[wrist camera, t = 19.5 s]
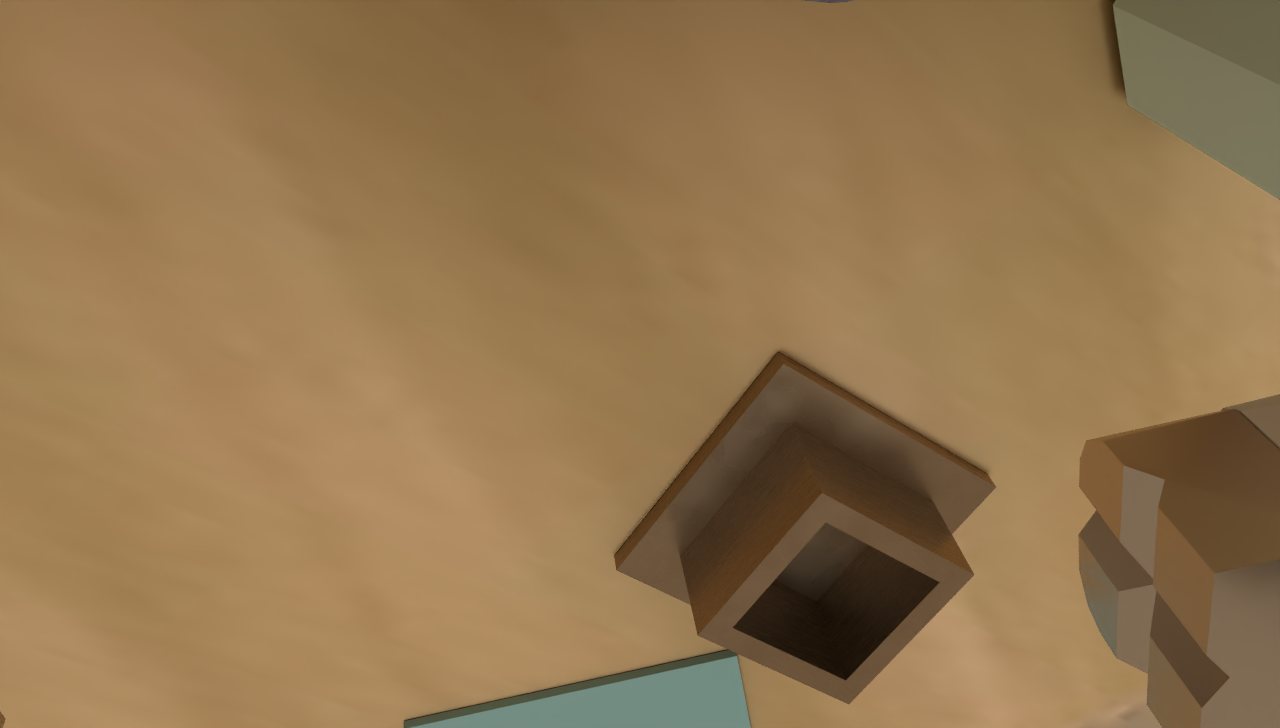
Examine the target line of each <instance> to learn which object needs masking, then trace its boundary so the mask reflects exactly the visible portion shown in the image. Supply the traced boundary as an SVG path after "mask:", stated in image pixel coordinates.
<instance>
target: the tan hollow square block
mask: <svg viewBox="0 0 1280 728" xmlns="http://www.w3.org/2000/svg"><path fill="white" fill-rule="evenodd" d="M995 488H996V486H995V485H994V483H993V482H992V480H991V479H990V477H989V476H988V474H986V473H985V472H983V471H981V470H980V469H978V468H976V467H974V466H973V465H971V464H969V463H968V462H966V461H964V460H962V459H961V458H959V457H957V456H956V455H954V454H952V453H950V452H949V451H947V450H945V449H944V448H942V447H940V446H938V445H937V444H935V443H933V442H932V441H930V440H928V439H926V438H925V437H923V436H921V435H920V434H918V433H916V432H914V431H913V430H911V429H909V428H908V427H906V426H904V425H903V424H901V423H899V422H897V421H896V420H894V419H892V418H891V417H889V416H887V415H885V414H884V413H882V412H880V411H879V410H877V409H875V408H873V407H872V406H870V405H868V404H867V403H865V402H863V401H861V400H860V399H858V398H856V397H855V396H853V395H851V394H849V393H848V392H846V391H844V390H843V389H841V388H839V387H837V386H836V385H834V384H832V383H831V382H829V381H827V380H825V379H824V378H822V377H820V376H819V375H817V374H815V373H813V372H812V371H810V370H808V369H807V368H805V367H803V366H801V365H800V364H798V363H796V362H795V361H793V360H791V359H789V358H788V357H786V356H784V355H783V354H781V353H779V352H778V353H777V354H776V355H775V357H774V358H773V359H772V360H771V362H770V363H769V364H768V365H767V367H766V368H765V369H764V370H763V371H762V373H761V374H760V375H759V376H758V378H757V379H756V380H755V381H754V383H753V384H752V385H751V386H750V388H749V389H748V390H747V391H746V393H745V394H744V395H743V396H742V398H741V399H740V400H739V401H738V403H737V404H736V405H735V406H734V408H733V409H732V410H731V411H730V413H729V414H728V415H727V416H726V417H725V419H724V420H723V421H722V422H721V424H720V425H719V426H718V427H717V429H716V430H715V431H714V432H713V434H712V435H711V436H710V437H709V439H708V440H707V441H706V442H705V444H704V445H703V446H702V447H701V449H700V450H699V451H698V452H697V454H696V455H695V456H694V457H693V459H692V460H691V461H690V462H689V463H688V465H687V466H686V467H685V468H684V470H683V471H682V472H681V473H680V475H679V476H678V477H677V478H676V480H675V481H674V482H673V483H672V485H671V486H670V487H669V488H668V490H667V491H666V492H665V493H664V495H663V496H662V497H661V498H660V500H659V501H658V502H657V503H656V505H655V506H654V507H653V508H652V509H651V511H650V512H649V513H648V514H647V516H646V517H645V518H644V519H643V521H642V522H641V523H640V524H639V526H638V527H637V528H636V529H635V531H634V532H633V533H632V534H631V536H630V537H629V538H628V539H627V541H626V542H625V543H624V544H623V546H622V547H621V548H620V549H619V551H618V552H617V553H616V554H615V555H614V557H615V564H616V570H617V571H619V572H621V573H624V574H626V575H628V576H630V577H632V578H634V579H636V580H639V581H641V582H643V583H645V584H647V585H649V586H651V587H654V588H656V589H658V590H660V591H662V592H664V593H666V594H669V595H671V596H673V597H675V598H677V599H679V600H681V601H684V602H686V603H688V604H690V605H691V608H692V612H693V616H694V621H695V625H696V630H697V634H698V636H700V637H702V638H705V639H707V640H709V641H711V642H713V643H716V644H718V645H720V646H722V647H724V648H727V649H729V650H731V651H733V652H735V653H737V654H740V655H742V656H744V657H746V658H748V659H751V660H753V661H755V662H757V663H759V664H762V665H764V666H766V667H768V668H770V669H773V670H775V671H777V672H779V673H781V674H784V675H786V676H788V677H790V678H792V679H795V680H797V681H799V682H801V683H803V684H805V685H808V686H810V687H812V688H814V689H816V690H819V691H821V692H823V693H825V694H827V695H830V696H832V697H834V698H836V699H838V700H841V701H843V702H845V703H847V704H850V703H851V702H852V701H853V700H854V699H855V698H856V697H857V696H858V694H859V693H860V692H861V691H862V690H863V689H864V688H865V687H866V686H867V685H868V684H869V683H870V682H871V681H872V680H873V679H874V678H875V677H876V676H877V675H878V674H879V673H880V672H881V671H882V670H883V669H884V668H885V667H886V666H887V665H888V663H889V662H890V661H891V660H892V659H893V658H894V657H895V656H896V655H897V654H898V653H899V652H900V651H901V650H902V649H903V648H904V647H905V646H906V645H907V644H908V643H909V642H910V641H911V640H912V639H913V638H914V637H915V636H916V635H917V634H918V632H919V631H920V630H921V629H922V628H923V627H924V626H925V625H926V624H927V623H928V622H929V621H930V620H931V619H932V618H933V617H934V616H935V615H936V614H937V613H938V612H939V611H940V610H941V609H942V608H943V607H944V606H945V605H946V604H947V603H948V601H949V600H950V599H951V598H952V597H953V596H954V595H955V594H956V593H957V592H958V591H959V590H960V589H961V588H962V587H963V586H964V585H965V584H966V583H967V582H968V581H969V580H970V579H971V578H972V577H973V576H974V573H973V571H972V570H971V568H970V566H969V564H968V563H967V561H966V559H965V557H964V555H963V554H962V552H961V550H960V548H959V546H958V545H957V543H956V541H955V539H954V538H953V536H952V534H953V532H954V531H955V530H956V529H957V528H958V527H959V526H960V525H961V524H962V523H963V522H964V521H965V520H966V519H967V518H968V517H969V515H970V514H971V513H972V512H973V511H974V510H975V509H976V508H977V507H978V506H979V505H980V504H981V503H982V502H983V501H984V500H985V498H986V497H987V496H988V495H989V494H990V493H991V492H992V491H993V490H994V489H995Z"/></svg>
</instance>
